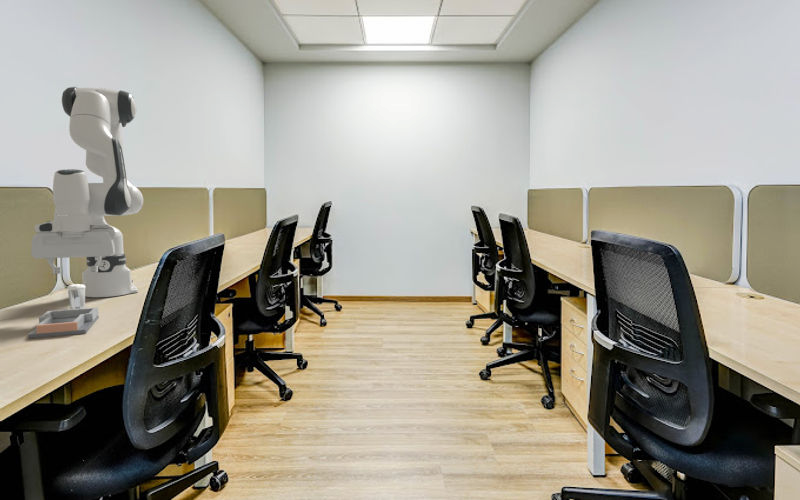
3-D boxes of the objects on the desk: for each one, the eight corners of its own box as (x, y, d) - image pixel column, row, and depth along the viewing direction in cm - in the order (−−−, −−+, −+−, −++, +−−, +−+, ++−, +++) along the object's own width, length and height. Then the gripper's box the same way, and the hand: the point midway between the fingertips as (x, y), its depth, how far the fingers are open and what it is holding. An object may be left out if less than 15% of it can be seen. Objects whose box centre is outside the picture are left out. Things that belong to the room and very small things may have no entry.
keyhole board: (48, 321, 136) (47, 311, 135) (98, 317, 140) (97, 307, 140) (28, 338, 119) (27, 326, 119) (85, 333, 124) (85, 321, 124)
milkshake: (93, 312, 146) (91, 279, 145) (76, 316, 141) (73, 282, 140) (82, 311, 148) (80, 279, 147) (65, 315, 143) (62, 281, 142)
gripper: (115, 224, 148) (118, 269, 149) (34, 225, 141) (37, 273, 142) (112, 225, 143) (114, 272, 144) (27, 226, 135) (30, 275, 136)
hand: (75, 272), depth 143 cm, fingers open, 8 cm apart
